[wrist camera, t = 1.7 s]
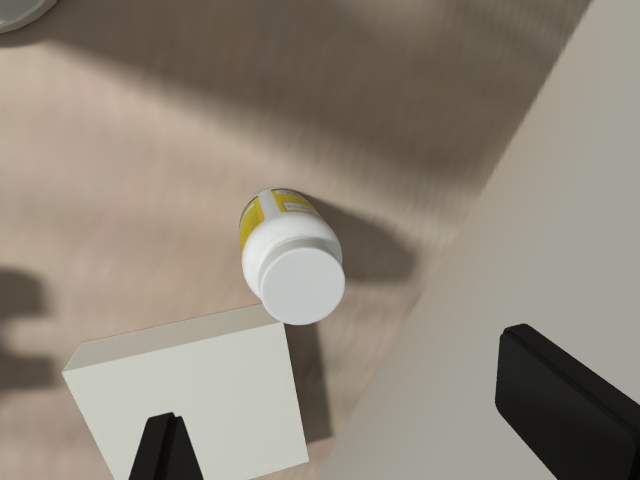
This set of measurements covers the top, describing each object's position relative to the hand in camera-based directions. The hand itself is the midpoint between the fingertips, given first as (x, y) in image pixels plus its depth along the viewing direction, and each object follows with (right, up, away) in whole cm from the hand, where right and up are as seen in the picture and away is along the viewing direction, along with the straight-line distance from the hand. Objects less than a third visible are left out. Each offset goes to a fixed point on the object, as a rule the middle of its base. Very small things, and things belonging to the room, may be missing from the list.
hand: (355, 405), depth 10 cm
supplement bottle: (-4, +6, +15) cm, 17 cm away
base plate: (-10, -8, +18) cm, 22 cm away
